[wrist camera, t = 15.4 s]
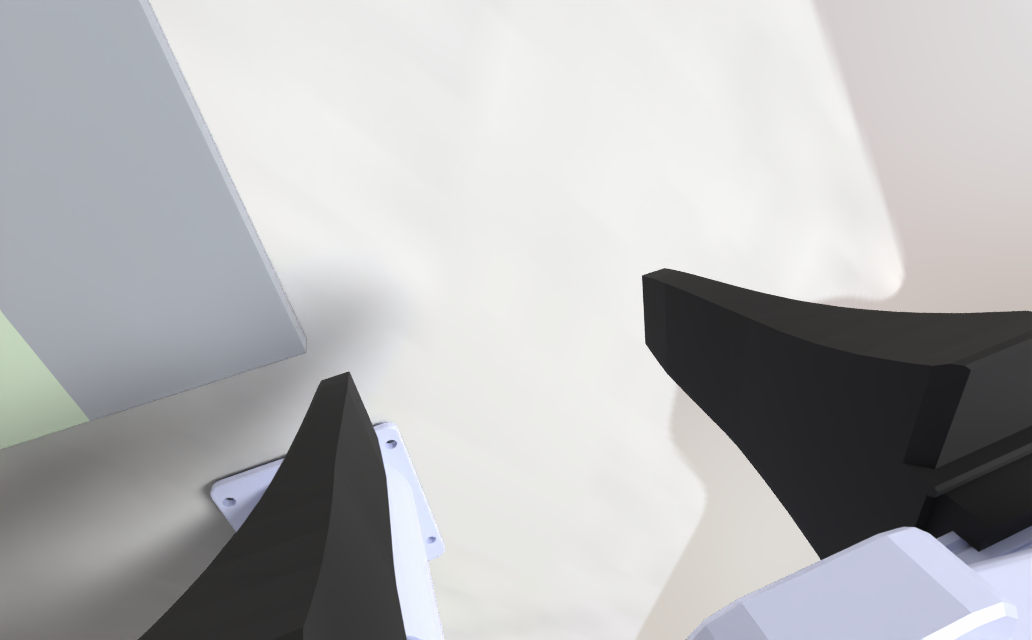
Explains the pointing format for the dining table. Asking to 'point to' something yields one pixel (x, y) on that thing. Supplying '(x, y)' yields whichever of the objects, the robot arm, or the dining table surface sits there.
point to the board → (117, 226)
